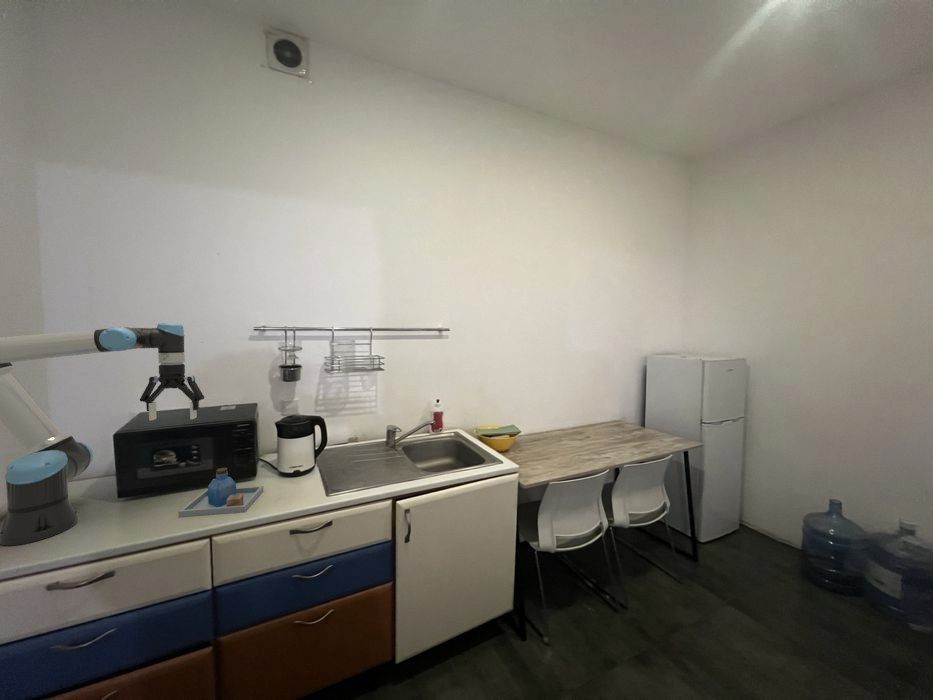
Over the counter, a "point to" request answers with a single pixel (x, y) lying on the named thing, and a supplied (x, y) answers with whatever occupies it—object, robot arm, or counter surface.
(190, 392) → the robot arm
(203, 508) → the tray
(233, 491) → the perfume bottle
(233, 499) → the walnut block
